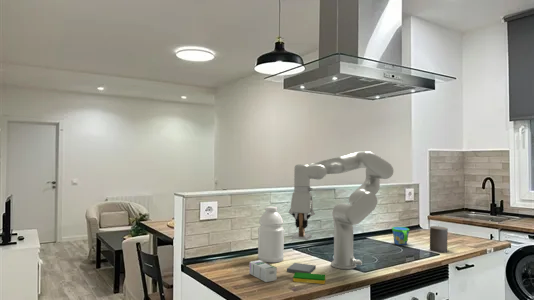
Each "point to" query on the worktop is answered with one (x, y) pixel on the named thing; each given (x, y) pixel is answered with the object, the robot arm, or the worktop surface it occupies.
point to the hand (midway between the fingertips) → (301, 227)
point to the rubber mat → (301, 268)
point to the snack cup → (400, 235)
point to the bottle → (271, 236)
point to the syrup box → (263, 270)
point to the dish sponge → (309, 278)
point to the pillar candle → (438, 238)
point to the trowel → (301, 229)
